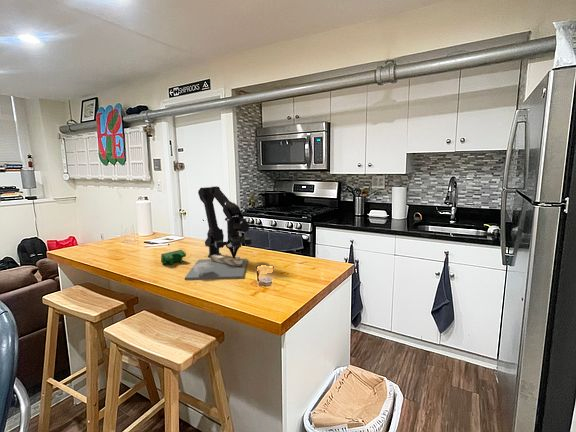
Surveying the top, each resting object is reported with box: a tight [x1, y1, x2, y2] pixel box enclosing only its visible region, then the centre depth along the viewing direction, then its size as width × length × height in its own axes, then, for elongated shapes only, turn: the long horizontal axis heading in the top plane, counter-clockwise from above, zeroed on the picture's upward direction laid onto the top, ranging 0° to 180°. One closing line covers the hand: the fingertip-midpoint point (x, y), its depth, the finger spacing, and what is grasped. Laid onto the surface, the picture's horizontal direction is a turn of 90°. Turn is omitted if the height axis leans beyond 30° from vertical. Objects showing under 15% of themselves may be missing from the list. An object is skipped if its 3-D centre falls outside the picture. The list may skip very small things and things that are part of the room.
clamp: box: [160, 249, 187, 266], centre depth 165 cm, size 12×6×9 cm, turn 133°
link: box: [209, 255, 243, 266], centre depth 161 cm, size 20×4×4 cm, turn 58°
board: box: [184, 258, 248, 281], centre depth 155 cm, size 28×26×1 cm
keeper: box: [193, 261, 214, 277], centre depth 146 cm, size 8×7×5 cm
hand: (233, 258), depth 166 cm, fingers closed
